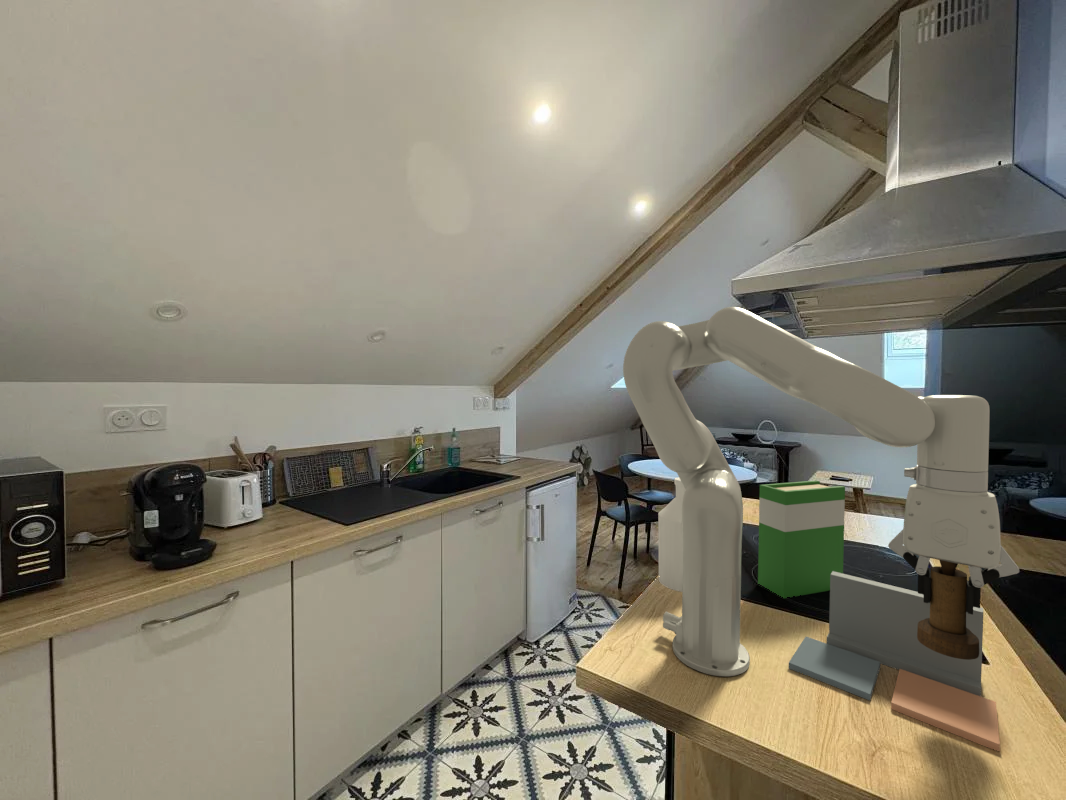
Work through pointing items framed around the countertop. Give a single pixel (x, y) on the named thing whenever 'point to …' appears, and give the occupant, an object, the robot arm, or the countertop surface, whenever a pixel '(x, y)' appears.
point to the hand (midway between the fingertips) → (947, 603)
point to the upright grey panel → (896, 631)
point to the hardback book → (800, 536)
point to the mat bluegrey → (836, 667)
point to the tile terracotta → (947, 708)
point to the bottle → (671, 541)
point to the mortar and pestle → (948, 615)
